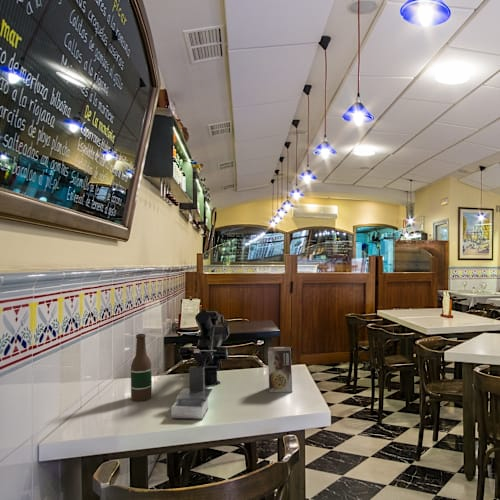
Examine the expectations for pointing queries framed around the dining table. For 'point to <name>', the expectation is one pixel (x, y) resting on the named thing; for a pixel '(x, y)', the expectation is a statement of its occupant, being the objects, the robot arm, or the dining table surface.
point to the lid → (195, 386)
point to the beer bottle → (141, 372)
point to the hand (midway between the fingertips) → (200, 373)
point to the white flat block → (189, 409)
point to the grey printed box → (280, 369)
